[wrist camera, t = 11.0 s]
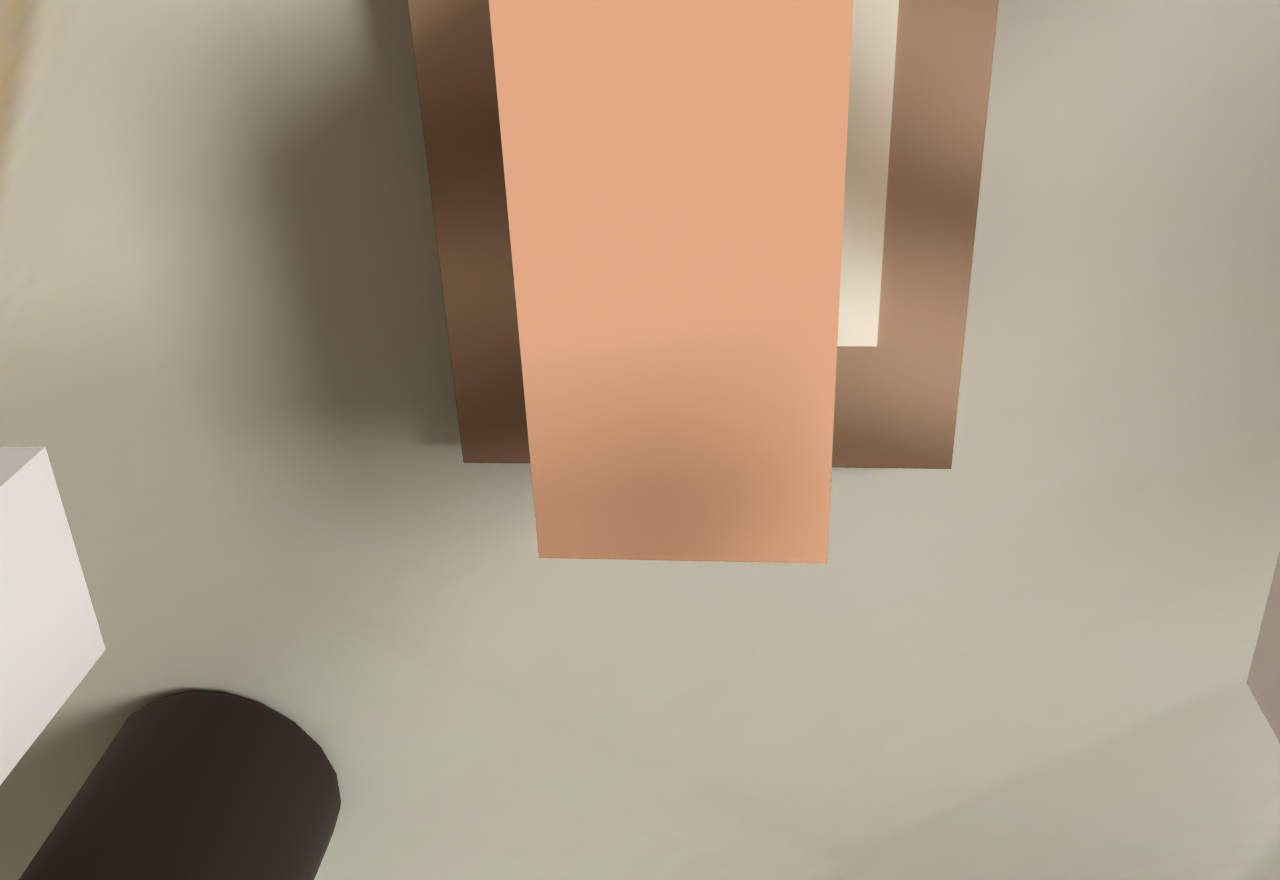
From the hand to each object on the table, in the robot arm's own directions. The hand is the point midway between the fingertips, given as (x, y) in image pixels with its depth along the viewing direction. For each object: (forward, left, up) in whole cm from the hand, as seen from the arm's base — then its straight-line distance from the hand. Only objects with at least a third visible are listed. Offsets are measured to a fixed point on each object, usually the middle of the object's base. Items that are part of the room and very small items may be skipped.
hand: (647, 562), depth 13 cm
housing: (+1, 0, -11) cm, 11 cm away
